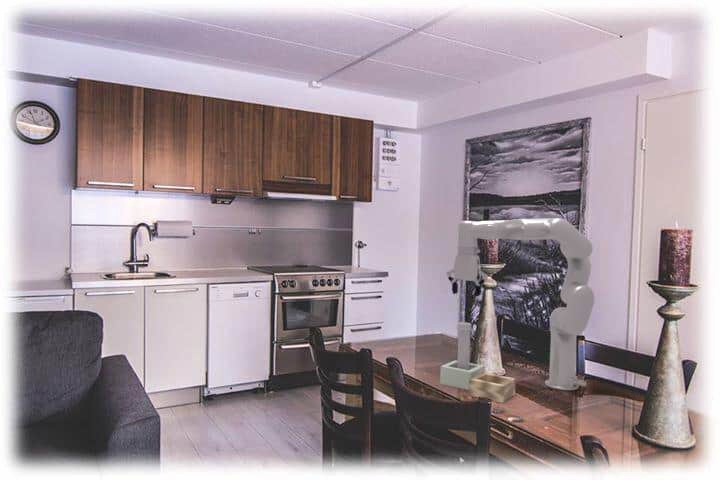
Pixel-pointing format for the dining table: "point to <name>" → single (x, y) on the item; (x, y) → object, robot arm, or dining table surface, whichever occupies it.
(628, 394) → the dining table surface
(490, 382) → the oak collar
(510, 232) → the robot arm
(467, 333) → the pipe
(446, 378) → the holder block
